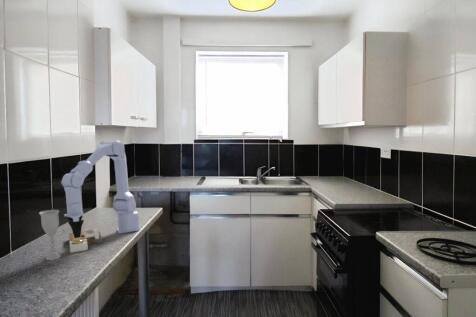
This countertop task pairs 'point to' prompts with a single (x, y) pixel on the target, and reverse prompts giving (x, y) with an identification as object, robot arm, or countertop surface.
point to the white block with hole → (78, 246)
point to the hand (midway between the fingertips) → (77, 235)
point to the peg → (77, 240)
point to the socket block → (89, 239)
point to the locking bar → (93, 234)
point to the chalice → (50, 229)
